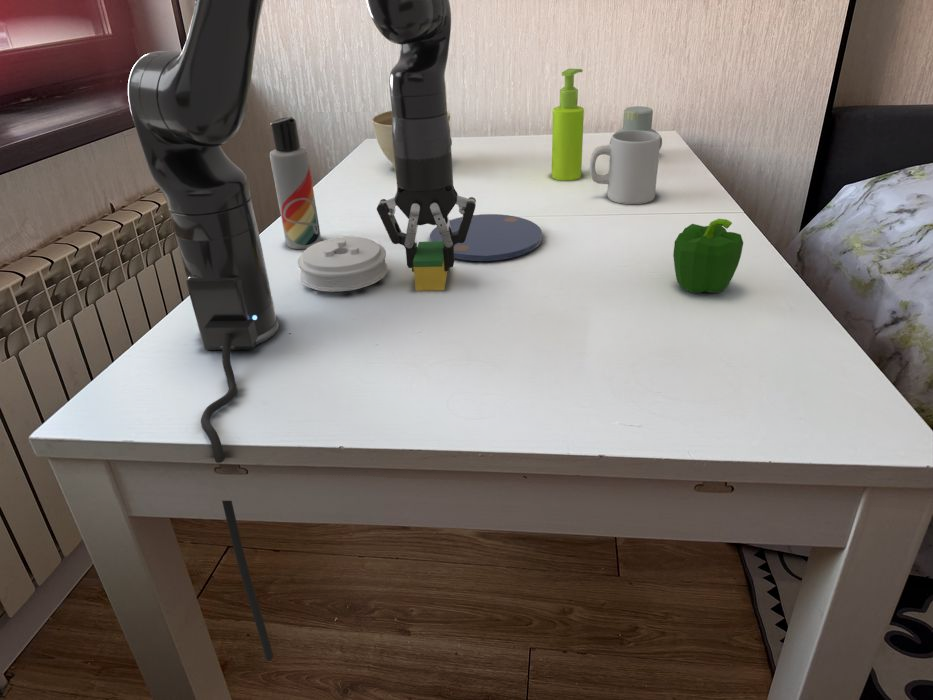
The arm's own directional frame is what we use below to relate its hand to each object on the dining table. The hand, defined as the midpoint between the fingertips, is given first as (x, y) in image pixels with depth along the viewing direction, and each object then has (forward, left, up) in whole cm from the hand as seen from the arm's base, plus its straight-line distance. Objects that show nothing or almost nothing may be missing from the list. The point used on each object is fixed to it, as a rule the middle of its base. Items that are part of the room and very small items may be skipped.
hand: (431, 268), depth 99 cm
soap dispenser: (+49, -22, -2) cm, 54 cm away
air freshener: (+61, -37, -2) cm, 71 cm away
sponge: (0, 0, -2) cm, 2 cm away
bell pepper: (-3, -37, -2) cm, 37 cm away
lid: (+1, +13, -2) cm, 13 cm away
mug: (+35, -31, -2) cm, 47 cm away
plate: (+15, -7, -2) cm, 16 cm away
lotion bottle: (+15, +23, -2) cm, 27 cm away
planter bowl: (+57, +10, -2) cm, 58 cm away
